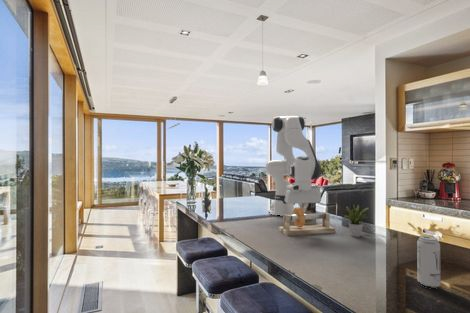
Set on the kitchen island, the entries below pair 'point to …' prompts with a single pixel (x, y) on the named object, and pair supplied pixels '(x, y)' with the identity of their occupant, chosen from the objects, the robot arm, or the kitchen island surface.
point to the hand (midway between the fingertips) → (303, 211)
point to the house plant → (355, 221)
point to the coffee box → (310, 212)
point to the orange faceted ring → (301, 217)
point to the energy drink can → (428, 261)
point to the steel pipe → (308, 216)
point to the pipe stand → (306, 227)
